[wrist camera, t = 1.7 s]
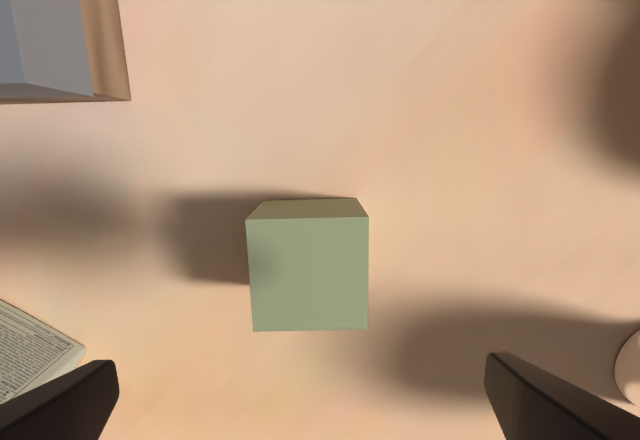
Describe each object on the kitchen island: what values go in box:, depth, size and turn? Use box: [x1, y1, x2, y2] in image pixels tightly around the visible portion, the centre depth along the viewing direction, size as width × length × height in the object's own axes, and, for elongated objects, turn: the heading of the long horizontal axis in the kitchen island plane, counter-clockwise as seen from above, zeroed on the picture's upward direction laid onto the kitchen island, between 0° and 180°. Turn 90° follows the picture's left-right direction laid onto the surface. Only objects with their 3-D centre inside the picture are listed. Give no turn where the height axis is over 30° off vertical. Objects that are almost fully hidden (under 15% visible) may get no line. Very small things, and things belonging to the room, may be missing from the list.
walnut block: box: [0, 0, 131, 104], centre depth 16 cm, size 8×8×4 cm
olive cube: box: [245, 198, 369, 332], centre depth 17 cm, size 5×5×5 cm
